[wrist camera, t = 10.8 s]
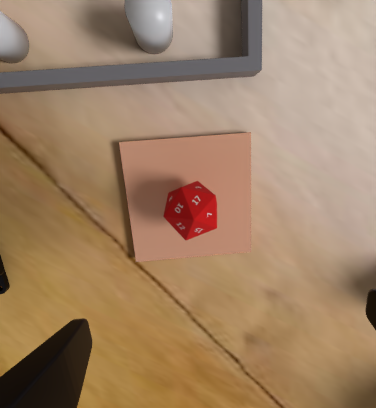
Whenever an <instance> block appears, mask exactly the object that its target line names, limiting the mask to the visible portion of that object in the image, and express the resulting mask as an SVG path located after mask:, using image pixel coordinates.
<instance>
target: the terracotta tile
mask: <svg viewBox="0 0 376 408" xmlns="http://www.w3.org/2000/svg"><path fill="white" fill-rule="evenodd" d="M119 146H120V153H121V160H122V167H123V174H124V181H125V188H126V195H127V202H128V209H129V216H130V223H131V230H132V237H133V244H134V251H135V258H136V262H141V261H152V260H164V259H175V258H187V257H198V256H210V255H221V254H232V253H244V252H251V132H249V133H236V134H222V135H209V136H196V137H182V138H169V139H155V140H142V141H128V142H119ZM195 181H199V182H200V183H201V184H202V185H204V186H205V187H206V188H207V189H208V190H210V191H211V192H212V193H213V194H215V195H216V200H217V228H216V229H214V230H212V231H209V232H206V233H204V234H201V235H199V236H196V237H194V238H191V239H189V240H185V239H184V238H183V237H182V236H181V235H180V234H179V233H178V232H177V231H176V230H175V229H174V228H173V227H172V226H171V224H170V223H169V222H168V221H167V220H166V219H165V218H164V217H163V216H164V211H165V206H166V201H167V196H168V193H169V192H171V191H173V190H176V189H178V188H181V187H183V186H186V185H188V184H190V183H193V182H195Z"/></svg>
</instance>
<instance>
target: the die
mask: <svg viewBox="0 0 376 408" xmlns="http://www.w3.org/2000/svg"><path fill="white" fill-rule="evenodd" d="M163 217H164V218H165V219H166V220H167V221H168V222H169V223H170V224H171V226H172V227H173V228H174V229H175V230H176V231H177V232H178V233H179V234H180V235H181V236H182V237H183V238H184V239H185V240H189V239H191V238H194V237H196V236H199V235H201V234H204V233H206V232H209V231H212V230H214V229H216V228H217V200H216V195H215V194H213V193H212V192H211V191H210V190H208V189H207V188H206V187H205V186H204V185H202V184H201V183H200V182H199V181H195V182H193V183H190V184H188V185H186V186H183V187H181V188H178V189H176V190H173V191H171V192H169V193H168V196H167V201H166V206H165V211H164V216H163Z"/></svg>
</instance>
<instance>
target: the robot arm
mask: <svg viewBox="0 0 376 408" xmlns="http://www.w3.org/2000/svg"><path fill="white" fill-rule="evenodd" d="M0 286H2V288H1V287H0V294H3V293H5V292H6V291H7V290H8V289H9V287H10V286H9V282H8V279H7V275H6V272H5V269H4V266H3V262H2V259H1V256H0ZM366 315H367V318H368V320H369V321H370V323H371V324H372V326H373V327H374V328H375V330H376V289H372V290H370V291H369V292H368V296H367V304H366ZM91 349H92V337H91V333H90V329H89V324H88V321H87V320H86V319H75V320H72V321H70V322H69V323H68V324H67V325H65V326H64V327H63V328H61V329H60V330H59V331H58V332H56V333H55V334H54V335H53V336H51V337H50V338H49V339H48V340H46V341H45V342H44V343H43V344H41V345H40V346H39V347H38V348H36V349H35V350H34V351H33V352H31V353H30V354H29V355H27V356H26V357H25V358H24V359H22V360H21V361H20V362H19V363H17V364H16V365H15V366H14V367H12V368H11V369H10V370H9V371H7V372H6V373H5V374H4V375H2V376H1V377H0V408H77V405H78V402H79V398H80V394H81V390H82V386H83V382H84V378H85V374H86V369H87V365H88V361H89V357H90V353H91Z"/></svg>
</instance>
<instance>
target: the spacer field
mask: <svg viewBox="0 0 376 408" xmlns="http://www.w3.org/2000/svg"><path fill="white" fill-rule="evenodd" d="M125 13H126V16H127V19H128V21H129V23H130V26H131V28H132V31H133V33H134V36H135V38H136V41H137V43H138V44H139V46H140V47H141V48H142V49H143V50H144V51H146V52H148V53H151V54H158V53H161V52H163V51H165V50H166V49H167V48H168V47H169V45H170V43H171V41H172V37H173V26H172V4H171V0H125ZM241 19H242V57H230V58H215V59H200V60H185V61H169V62H154V63H139V64H124V65H109V66H94V67H79V68H64V69H48V70H33V71H18V72H3V73H0V94H2V93H16V92H31V91H46V90H60V89H75V88H90V87H104V86H119V85H134V84H148V83H163V82H177V81H192V80H207V79H221V78H236V77H251V76H255V75H256V74H257V73H259V72H260V71H261V70H262V0H241ZM28 51H29V40H28V37H27V34H26V33H25V31H24V29H23V28H22V27H21V26H20V25H19V24H17V23H16V22H15V21H13V20H12V19H11V18H9V17H8V16H6V15H5V14H4V13H2V12H1V11H0V59H1V60H3V61H5V62H8V63H18V62H20V61H22V60H23V59H24V58H25V57H26V56H27V54H28Z"/></svg>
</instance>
